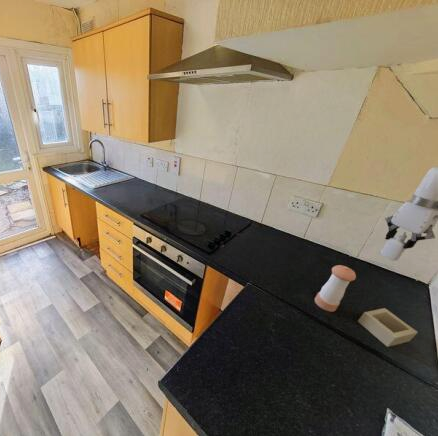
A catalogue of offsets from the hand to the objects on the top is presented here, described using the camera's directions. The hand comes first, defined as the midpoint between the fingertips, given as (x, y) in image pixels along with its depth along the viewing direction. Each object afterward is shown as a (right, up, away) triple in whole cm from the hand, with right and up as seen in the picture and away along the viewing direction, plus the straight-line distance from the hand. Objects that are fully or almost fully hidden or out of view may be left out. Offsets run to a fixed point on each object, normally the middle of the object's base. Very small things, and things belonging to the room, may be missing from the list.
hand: (397, 243), depth 90 cm
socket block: (-15, -31, -9) cm, 35 cm away
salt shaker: (-28, -25, +1) cm, 38 cm away
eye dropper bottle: (0, -6, +3) cm, 7 cm away
